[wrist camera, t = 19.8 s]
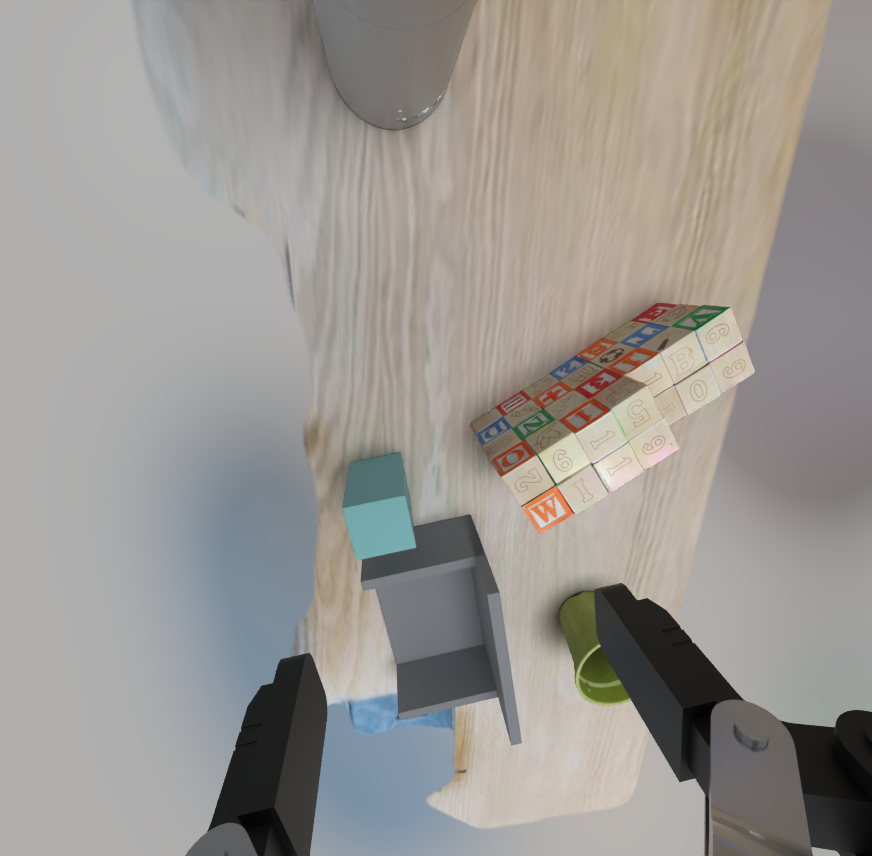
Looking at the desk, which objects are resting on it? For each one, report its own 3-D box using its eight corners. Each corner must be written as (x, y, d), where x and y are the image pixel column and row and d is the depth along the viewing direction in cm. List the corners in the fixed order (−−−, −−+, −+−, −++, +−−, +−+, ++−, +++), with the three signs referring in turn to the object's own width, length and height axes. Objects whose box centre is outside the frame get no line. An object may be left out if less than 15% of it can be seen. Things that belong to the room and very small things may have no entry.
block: (361, 506, 44) (357, 560, 35) (350, 462, 42) (342, 508, 34) (409, 496, 44) (416, 547, 36) (400, 452, 42) (404, 495, 34)
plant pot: (564, 571, 49) (600, 628, 41) (633, 587, 51) (679, 644, 43) (533, 633, 52) (561, 699, 44) (599, 646, 54) (637, 711, 46)
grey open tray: (398, 663, 51) (402, 772, 40) (363, 537, 45) (357, 624, 34) (491, 641, 52) (521, 742, 40) (470, 514, 45) (499, 592, 34)
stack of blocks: (657, 299, 40) (767, 308, 29) (681, 354, 42) (792, 382, 31) (468, 423, 42) (500, 478, 31) (499, 470, 44) (540, 538, 33)
